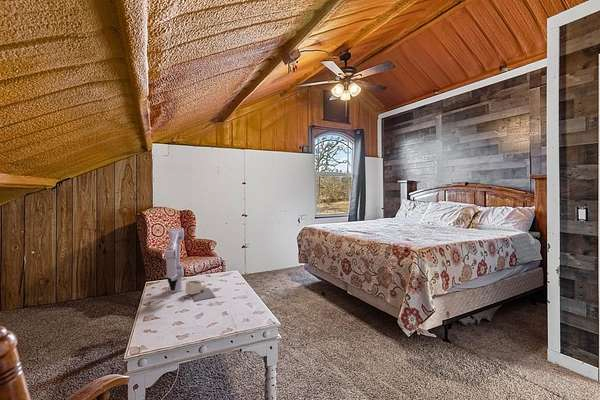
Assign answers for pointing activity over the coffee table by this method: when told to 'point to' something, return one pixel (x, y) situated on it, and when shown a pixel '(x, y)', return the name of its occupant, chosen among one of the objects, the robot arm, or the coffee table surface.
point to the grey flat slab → (203, 295)
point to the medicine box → (195, 287)
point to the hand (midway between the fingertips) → (172, 288)
